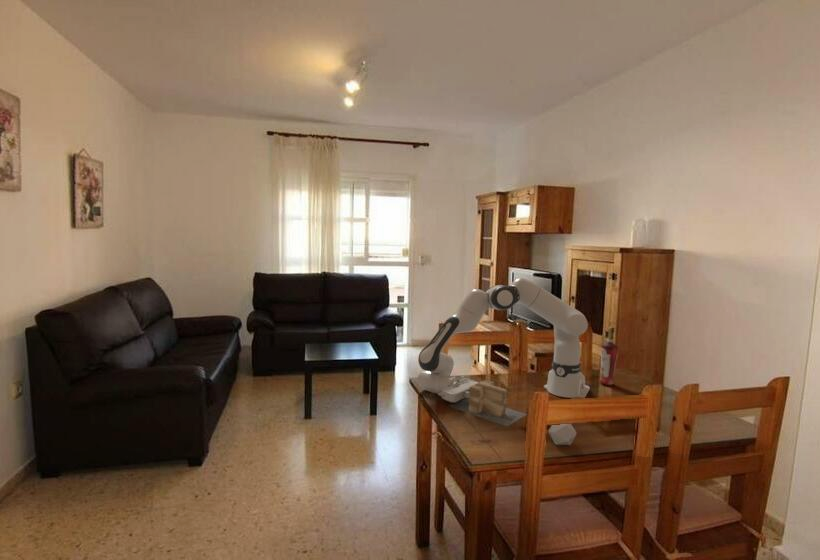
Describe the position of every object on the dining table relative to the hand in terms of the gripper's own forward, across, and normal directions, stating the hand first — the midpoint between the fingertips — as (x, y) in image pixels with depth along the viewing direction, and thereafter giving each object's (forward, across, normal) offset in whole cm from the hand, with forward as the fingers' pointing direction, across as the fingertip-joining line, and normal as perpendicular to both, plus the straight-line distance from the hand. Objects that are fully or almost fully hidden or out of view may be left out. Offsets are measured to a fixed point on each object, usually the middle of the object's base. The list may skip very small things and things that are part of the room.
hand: (477, 395), depth 190 cm
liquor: (+28, +71, +5) cm, 77 cm away
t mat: (+5, 0, +5) cm, 7 cm away
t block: (+6, 0, +5) cm, 8 cm away
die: (+38, -6, +5) cm, 39 cm away
